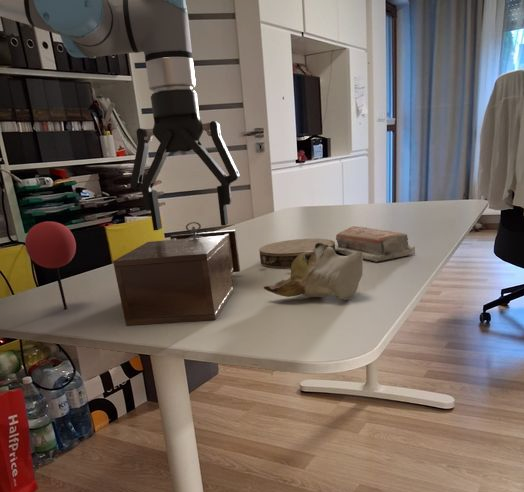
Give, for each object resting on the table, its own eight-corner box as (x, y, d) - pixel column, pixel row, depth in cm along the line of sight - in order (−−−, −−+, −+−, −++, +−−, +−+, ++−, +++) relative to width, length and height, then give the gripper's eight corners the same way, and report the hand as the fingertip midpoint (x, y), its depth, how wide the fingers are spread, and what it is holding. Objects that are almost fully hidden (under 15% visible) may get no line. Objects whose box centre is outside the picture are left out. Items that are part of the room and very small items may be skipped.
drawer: (185, 268, 109) (179, 230, 106) (244, 264, 107) (240, 225, 104) (156, 294, 90) (147, 249, 87) (227, 289, 89) (221, 243, 86)
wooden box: (157, 296, 93) (147, 241, 89) (233, 291, 91) (226, 235, 87) (125, 325, 78) (112, 261, 75) (215, 320, 76) (206, 253, 73)
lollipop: (69, 315, 87) (47, 224, 81) (33, 315, 90) (10, 226, 84) (97, 302, 93) (79, 217, 88) (63, 302, 96) (43, 219, 91)
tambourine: (339, 263, 103) (339, 248, 102) (259, 271, 104) (258, 256, 103) (331, 249, 118) (330, 236, 117) (261, 256, 119) (260, 243, 117)
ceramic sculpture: (344, 247, 71) (255, 252, 80) (350, 308, 74) (263, 306, 82) (375, 234, 79) (291, 239, 88) (379, 289, 82) (297, 289, 90)
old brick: (417, 230, 102) (375, 238, 98) (417, 254, 104) (376, 263, 100) (363, 223, 117) (325, 229, 114) (363, 244, 119) (326, 252, 115)
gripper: (248, 85, 87) (259, 219, 94) (112, 100, 90) (134, 228, 98) (241, 80, 80) (254, 225, 87) (94, 96, 83) (119, 234, 91)
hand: (191, 227), depth 93 cm, fingers open, 11 cm apart
